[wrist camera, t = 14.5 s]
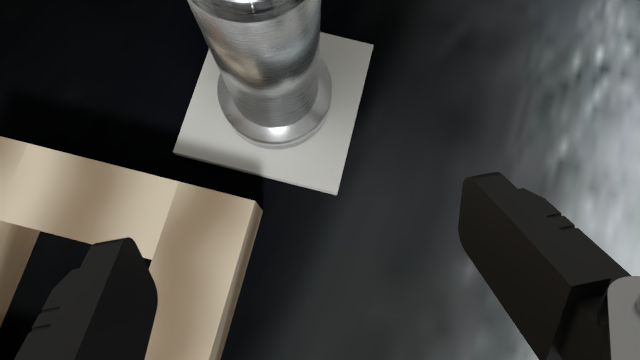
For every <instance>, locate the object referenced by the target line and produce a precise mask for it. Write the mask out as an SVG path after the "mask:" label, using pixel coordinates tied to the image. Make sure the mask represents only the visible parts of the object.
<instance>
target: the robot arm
mask: <svg viewBox="0 0 640 360" xmlns="http://www.w3.org/2000/svg"><path fill="white" fill-rule="evenodd" d="M458 231H459V237H460V241H461V244H462V246H463V248H464V250H465V252H466V253H467V255H468V256H469V258H470V259H471V260H472V262H473V263H474V265H475V266H476V268H477V269H478V271H479V272H480V274H481V275H482V277H483V278H484V280H485V281H486V282H487V284H488V285H489V287H490V288H491V290H492V291H493V293H494V294H495V296H496V297H497V299H498V300H499V301H500V303H501V304H502V306H503V307H504V309H505V310H506V312H507V313H508V315H509V316H510V318H511V319H512V321H513V322H514V323H515V325H516V326H517V328H518V329H519V331H520V332H521V334H522V335H523V337H524V338H525V340H526V341H527V343H528V344H529V345H530V347H531V348H532V350H533V351H534V353H535V354H536V356H537V357H538V359H539V360H640V276H631V275H630V274H629V273H628V272H627V271H625V270H624V269H623V268H622V267H621V266H620V265H619V264H618V263H616V262H615V261H614V260H613V259H612V258H611V257H610V256H609V255H608V254H606V253H605V252H604V251H603V250H602V249H601V248H600V247H599V246H597V245H596V244H595V243H594V242H593V241H592V240H591V239H590V238H588V237H587V236H586V235H585V234H584V233H583V232H582V231H581V230H580V229H578V228H575V227H574V224H573V223H572V222H571V221H569V220H568V219H567V218H566V217H565V216H561V213H560V212H559V211H558V210H557V209H556V208H555V207H554V206H553V205H551V204H550V203H549V202H548V201H547V200H546V199H545V198H542V197H540V196H538V195H536V194H534V193H532V192H530V191H528V190H526V189H524V188H521V189H517V188H516V187H515V186H514V185H513V184H512V183H511V182H510V181H509V180H508V179H507V178H505V177H504V176H503V175H502V174H501V173H499V172H494V173H488V174H483V175H477V176H472V177H467V178H466V179H465V180H464V182H463V187H462V196H461V206H460V215H459V225H458ZM157 306H158V294H157V288H156V285H155V282H154V280H153V278H152V276H151V273H150V271H149V269H148V267H147V265H146V263H145V261H144V259H143V257H142V255H141V253H140V251H139V249H138V247H137V245H136V243H135V241H134V240H133V239H132V238H130V237H127V238H121V239H116V240H110V241H104V242H99V243H95V244H93V245H92V246H91V248H90V250H89V251H88V253H87V255H86V257H85V259H84V261H83V263H82V265H81V267H80V269H74V270H72V271H71V272H70V273H69V274H68V275H67V276H66V277H65V278H64V279H63V280H62V281H61V282H60V283H59V284H58V285H57V286H56V287H55V288H54V289H53V290H52V292H51V294H50V296H49V298H48V299H47V301H46V303H45V305H44V307H43V308H42V314H39V316H38V317H37V319H36V321H35V323H34V325H33V326H32V332H29V334H28V335H27V337H26V339H25V341H24V343H23V344H22V346H21V348H20V350H19V352H18V353H17V355H16V357H15V359H14V360H145V356H146V352H147V348H148V344H149V340H150V336H151V332H152V328H153V324H154V320H155V316H156V311H157Z"/></svg>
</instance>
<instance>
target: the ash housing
mask: <svg viewBox="0 0 640 360" xmlns="http://www.w3.org/2000/svg"><path fill="white" fill-rule="evenodd" d="M262 212H263V211H262V209H261V208H260V207H259V205H258V204H257V203H256V201H254V200H250V199H246V198H242V197H238V196H234V195H230V194H226V193H222V192H218V191H214V190H210V189H206V188H202V187H198V186H195V185H191V184H187V183H183V182H179V181H175V180H171V179H167V178H163V177H159V176H155V175H151V174H147V173H143V172H139V171H135V170H131V169H128V168H124V167H120V166H116V165H112V164H108V163H104V162H100V161H96V160H92V159H88V158H84V157H80V156H76V155H72V154H68V153H65V152H61V151H57V150H53V149H49V148H45V147H41V146H37V145H33V144H29V143H25V142H21V141H17V140H13V139H9V138H5V137H1V136H0V327H1V325H2V322H3V320H4V317H5V315H6V313H7V310H8V308H9V305H10V303H11V301H12V298H13V296H14V293H15V291H16V288H17V286H18V284H19V281H20V279H21V276H22V274H23V271H24V269H25V267H26V264H27V262H28V259H29V257H30V254H31V252H32V250H33V247H34V245H35V242H36V240H37V238H38V235H39V233H40V231H43V232H47V233H51V234H55V235H59V236H62V237H66V238H70V239H74V240H78V241H82V242H86V243H89V244H95V243H99V242H104V241H110V240H116V239H121V238H127V237H130V238H132V239H133V240H134V241H135V243H136V245H137V247H138V249H139V251H140V253H141V255H142V257H143V258H147V259H151V260H152V262H151V265H150V267H149V271H150V273H151V276H152V278H153V280H154V282H155V285H156V288H157V294H158V306H157V311H156V316H155V320H154V324H153V328H152V332H151V336H150V340H149V344H148V348H147V352H146V356H145V360H220V359H221V355H222V352H223V348H224V345H225V341H226V338H227V334H228V331H229V328H230V324H231V321H232V317H233V314H234V310H235V307H236V303H237V300H238V296H239V293H240V289H241V286H242V282H243V279H244V275H245V272H246V268H247V265H248V261H249V258H250V254H251V251H252V247H253V244H254V240H255V237H256V233H257V230H258V226H259V223H260V219H261V216H262Z"/></svg>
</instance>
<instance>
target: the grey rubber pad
mask: <svg viewBox="0 0 640 360" xmlns="http://www.w3.org/2000/svg"><path fill="white" fill-rule="evenodd" d="M373 46H374V45H372V44H368V43H363V42H359V41H355V40H351V39H347V38H343V37H339V36H335V35H330V34H326V33H322V32H320V48H319V55H320V57H321V58H322V59H323V61H324V62H325V64H326V66H327V68H328V70H329V73H330V76H331V81H332V95H331V104H330V109H329V113H328V116H327V119H326V120H325V122H324V124H323V126H322V127H321V128H320V130H319V131H318V132H317V133H316V134H315V135H314V136H313V137H311V138H310V139H309V140H307V141H306V142H304V143H302V144H300V145H298V146H295V147H291V148H287V149H278V150H273V149H265V148H261V147H258V146H255V145H252V144H250V143H248V142H247V141H245V140H244V139H242V138H241V137H240V136H239V135H238V134H237V133H236V132H235V131H234V130H233V129H232V127H231V126H230V124H229V123H228V121H227V119H226V117H225V115H224V114H223V111H222V109H221V107H220V104H219V101H218V95H217V85H218V79H219V75H220V71H219V69H218V66H217V64H216V62H215V60H214V58H213V55H212V53H211V51H210V49H209V51H208V54H207V56H206V59H205V62H204V65H203V68H202V71H201V73H200V76H199V79H198V82H197V85H196V88H195V91H194V93H193V96H192V99H191V102H190V105H189V108H188V110H187V113H186V116H185V119H184V122H183V125H182V127H181V130H180V133H179V136H178V139H177V142H176V145H175V147H174V150H173V153H175V154H176V155H179V156H183V157H187V158H191V159H195V160H199V161H203V162H206V163H210V164H214V165H218V166H222V167H226V168H230V169H234V170H238V171H242V172H246V173H250V174H254V175H258V176H262V177H266V178H270V179H274V180H278V181H282V182H286V183H290V184H294V185H298V186H302V187H306V188H310V189H314V190H317V191H321V192H325V193H329V194H333V195H337V193H338V188H339V184H340V180H341V176H342V172H343V168H344V164H345V160H346V156H347V152H348V148H349V144H350V139H351V135H352V131H353V127H354V123H355V119H356V115H357V111H358V107H359V103H360V99H361V95H362V90H363V86H364V82H365V78H366V74H367V70H368V66H369V62H370V58H371V54H372V50H373Z"/></svg>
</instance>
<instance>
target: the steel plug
mask: <svg viewBox="0 0 640 360" xmlns="http://www.w3.org/2000/svg"><path fill="white" fill-rule="evenodd" d="M187 1H188V3H189V5H190V7H191V9H192V12H193V14H194V16H195V18H196V20H197V23H198V25H199V27H200V29H201V31H202V34H203V36H204V38H205V40H206V42H207V45H208V47H209V49H210V51H211V53H212V55H213V58H214V60H215V62H216V64H217V66H218V69H219V71H220V75H219V79H218V85H217V95H218V101H219V104H220V107H221V109H222V111H223V114H224V115H225V117H226V119H227V121H228V123H229V124H230V126H231V127H232V129H233V130H234V131H235V132H236V133H237V134H238V135H239V136H240V137H241V138H242V139H244V140H245V141H247V142H248V143H250V144H252V145H255V146H258V147H261V148H265V149H273V150H278V149H287V148H291V147H295V146H298V145H300V144H302V143H304V142H306V141H307V140H309V139H310V138H311V137H313V136H314V135H315V134H316V133H317V132H318V131H319V130H320V128H321V127H322V126H323V124H324V122H325V120H326V119H327V116H328V113H329V109H330V104H331V95H332V81H331V76H330V73H329V70H328V68H327V66H326V64H325V62H324V61H323V59H322V58H321V57H320V55H319V48H320V18H321V0H187Z"/></svg>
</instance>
